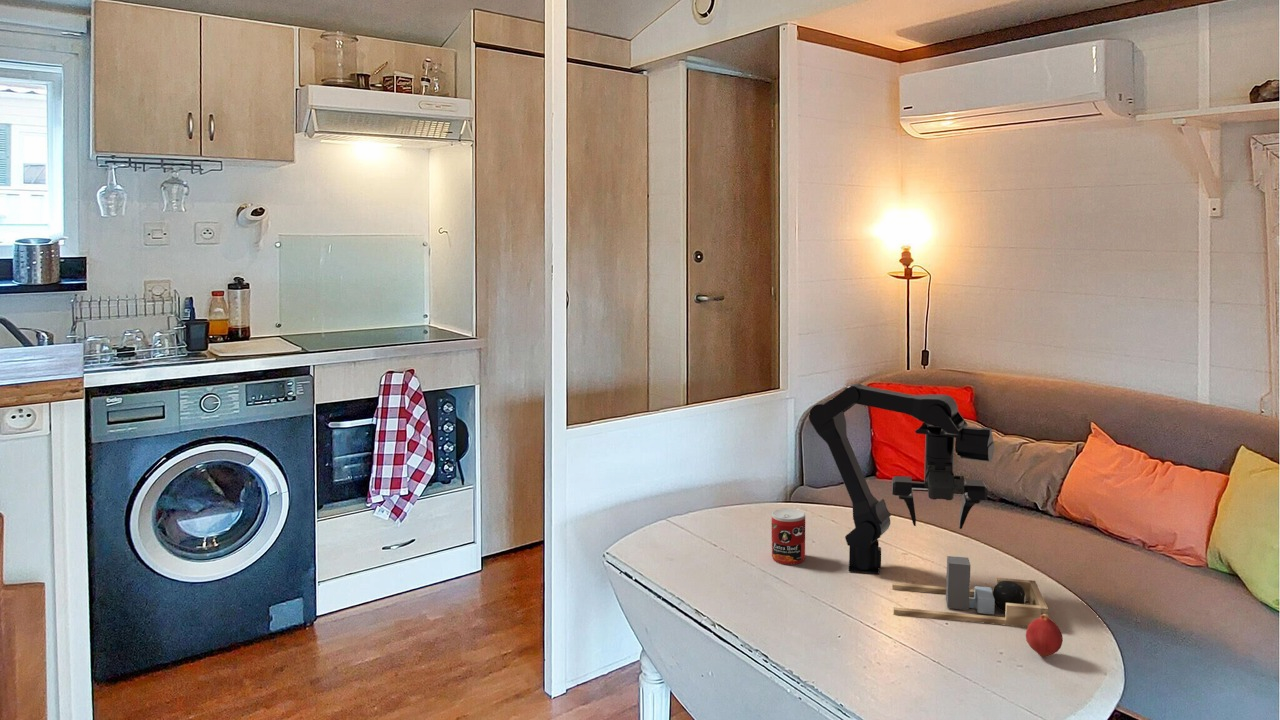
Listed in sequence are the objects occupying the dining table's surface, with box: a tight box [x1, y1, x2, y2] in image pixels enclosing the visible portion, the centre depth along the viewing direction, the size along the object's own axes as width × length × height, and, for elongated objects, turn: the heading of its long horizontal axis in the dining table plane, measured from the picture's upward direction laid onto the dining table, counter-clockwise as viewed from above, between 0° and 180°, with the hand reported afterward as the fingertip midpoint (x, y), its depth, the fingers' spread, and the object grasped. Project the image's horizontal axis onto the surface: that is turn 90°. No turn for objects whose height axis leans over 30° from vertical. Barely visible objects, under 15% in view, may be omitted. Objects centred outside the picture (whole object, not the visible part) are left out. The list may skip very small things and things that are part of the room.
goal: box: [996, 577, 1049, 628], centre depth 163 cm, size 7×13×4 cm, turn 164°
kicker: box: [945, 555, 996, 615], centre depth 165 cm, size 8×6×9 cm
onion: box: [1025, 614, 1064, 658], centre depth 145 cm, size 6×6×8 cm
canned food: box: [771, 507, 806, 566], centre depth 193 cm, size 8×8×11 cm
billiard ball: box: [992, 581, 1026, 612], centre depth 164 cm, size 6×6×6 cm
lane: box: [891, 582, 1007, 626], centre depth 167 cm, size 20×13×1 cm, turn 74°
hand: (937, 526), depth 176 cm, fingers open, 9 cm apart
